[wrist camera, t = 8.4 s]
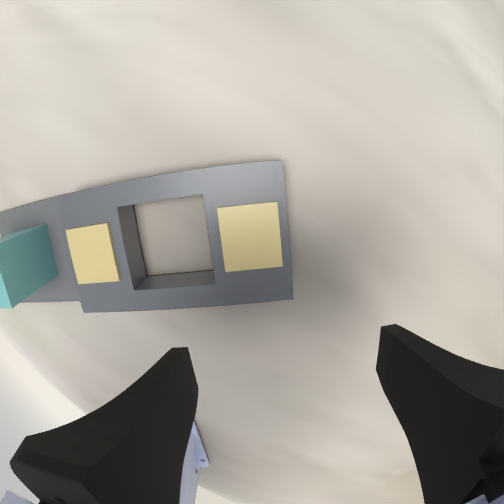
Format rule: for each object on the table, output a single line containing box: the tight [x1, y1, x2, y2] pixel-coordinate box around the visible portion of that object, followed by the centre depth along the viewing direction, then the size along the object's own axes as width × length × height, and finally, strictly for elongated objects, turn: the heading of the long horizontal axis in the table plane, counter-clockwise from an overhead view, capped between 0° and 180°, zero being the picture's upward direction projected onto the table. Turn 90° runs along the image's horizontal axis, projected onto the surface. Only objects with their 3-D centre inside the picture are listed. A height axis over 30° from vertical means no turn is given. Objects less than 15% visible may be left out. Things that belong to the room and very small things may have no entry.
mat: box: [0, 197, 80, 303], centre depth 20 cm, size 8×8×1 cm
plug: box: [0, 224, 59, 308], centre depth 16 cm, size 4×4×7 cm
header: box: [56, 160, 293, 313], centre depth 18 cm, size 8×14×3 cm, turn 96°
